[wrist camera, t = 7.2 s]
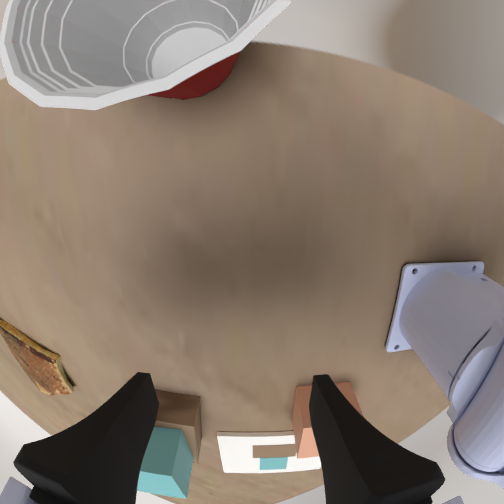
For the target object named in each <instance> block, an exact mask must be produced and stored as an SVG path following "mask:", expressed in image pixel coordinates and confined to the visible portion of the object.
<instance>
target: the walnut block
mask: <svg viewBox="0 0 504 504" xmlns="http://www.w3.org/2000/svg"><path fill="white" fill-rule="evenodd" d="M155 392H156V395H157V398H158V401H159V408H158V413H157V418H156V422H155V425H154V427H162V428H172V429H182V431H183V433H184V436H185V438H186V441H187V443H188V445H189V448H190V450H191V452H192V455H193V457H194V458H193V463H196V464H198V458H199V452H200V445H201V439H202V432H201V412H200V397H199V396H191V395H184V394H178V393H171V392H165V391H160V390H155Z"/></svg>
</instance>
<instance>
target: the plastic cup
mask: <svg viewBox="0 0 504 504" xmlns="http://www.w3.org/2000/svg"><path fill="white" fill-rule="evenodd" d="M290 3H291V0H10V1H9V3H8V5H7V7H6V11H5V15H4V20H3V24H2V30H1V35H0V56H1V60H2V64H3V67H4V70H5V73H6V77H7V80H8V83H9V84H10V85H11V86H12V87H14V88H15V89H17V90H18V91H19V92H21V93H22V94H23V95H25V96H26V97H28V98H29V99H30V100H32V101H33V102H34V103H36V104H37V105H39V106H40V107H57V108H74V109H87V110H97V109H100V108H103V107H106V106H109V105H113V104H116V103H119V102H122V101H126V100H129V99H133V98H136V97H140V96H144V95H150V96H158V97H165V98H177V99H183V100H184V99H189V98H194V97H199V96H203V95H205V94H206V93H208V92H210V91H212V90H213V89H215V88H217V87H219V86H220V85H221V83H222V82H223V81H224V80H225V79H226V78H227V77H228V75H229V74H230V73H231V71H232V68H233V65H234V63H235V62H236V60H237V58H238V55H239V53H240V51H241V50H242V49H243V48H244V47H245V46H246V45H247V44H248V43H249V42H250V41H251V40H252V39H253V38H254V37H255V36H256V35H257V34H258V33H259V32H260V31H261V30H262V29H263V28H264V27H266V26H267V25H268V24H269V23H270V22H271V21H272V20H273V19H274V18H275V17H276V16H277V15H279V14H280V13H281V12H282V11H283V10H284V9H285V8H287V7H288V6H289V5H290Z"/></svg>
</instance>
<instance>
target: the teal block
mask: <svg viewBox="0 0 504 504" xmlns="http://www.w3.org/2000/svg"><path fill="white" fill-rule="evenodd" d="M193 458H194V457H193V455H192V452H191V450H190V448H189V445H188V443H187V441H186V438H185V436H184V433H183V431H182V429H172V428H162V427H154V428H153V431H152V434H151V437H150V440H149V443H148V446H147V449H146V451H145V454H144V457H143V461H142V464H141V469H140V474H139V480H138V486H137V490H138V491H143V492H148V493H153V494H158V495H164V496H171V497H178V498H186V499H187V494H188V488H189V482H190V476H191V470H192V464H193Z"/></svg>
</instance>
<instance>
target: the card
mask: <svg viewBox="0 0 504 504" xmlns="http://www.w3.org/2000/svg"><path fill="white" fill-rule="evenodd" d="M217 438H218V443H219V449H220V454H221V460H222V465H223V470H224V472H226V473H274V472H291V471H303V470H312V469H320V467H321V461H320V457H319V456H318V457H309V458H298V459H297V453H296V446H295V438H294V431H283V432H218V433H217Z"/></svg>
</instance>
